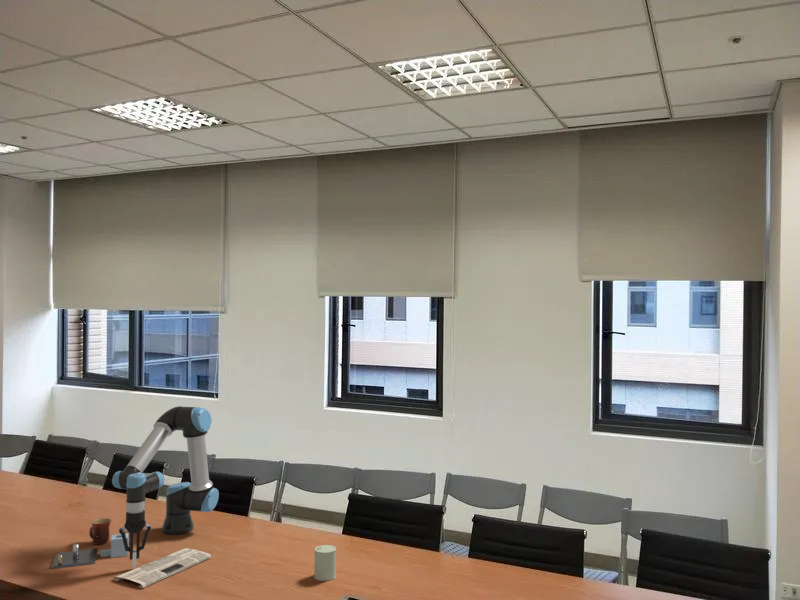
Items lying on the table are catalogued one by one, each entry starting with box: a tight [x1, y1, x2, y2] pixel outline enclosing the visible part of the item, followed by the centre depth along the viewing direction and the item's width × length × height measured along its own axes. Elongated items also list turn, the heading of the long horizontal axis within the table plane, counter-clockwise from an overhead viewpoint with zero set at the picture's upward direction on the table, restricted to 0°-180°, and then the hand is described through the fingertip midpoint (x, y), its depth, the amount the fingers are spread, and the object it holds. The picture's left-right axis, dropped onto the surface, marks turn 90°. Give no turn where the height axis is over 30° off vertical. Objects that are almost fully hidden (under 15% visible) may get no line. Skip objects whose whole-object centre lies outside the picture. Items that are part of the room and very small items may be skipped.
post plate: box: [50, 543, 99, 570], centre depth 278 cm, size 17×17×6 cm
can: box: [313, 544, 337, 582], centre depth 261 cm, size 9×9×12 cm
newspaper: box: [112, 547, 212, 589], centre depth 268 cm, size 37×19×3 cm, turn 152°
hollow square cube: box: [99, 532, 130, 559], centre depth 284 cm, size 12×7×8 cm, turn 112°
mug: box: [88, 517, 112, 546], centre depth 298 cm, size 12×9×10 cm
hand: (134, 566), depth 267 cm, fingers closed
